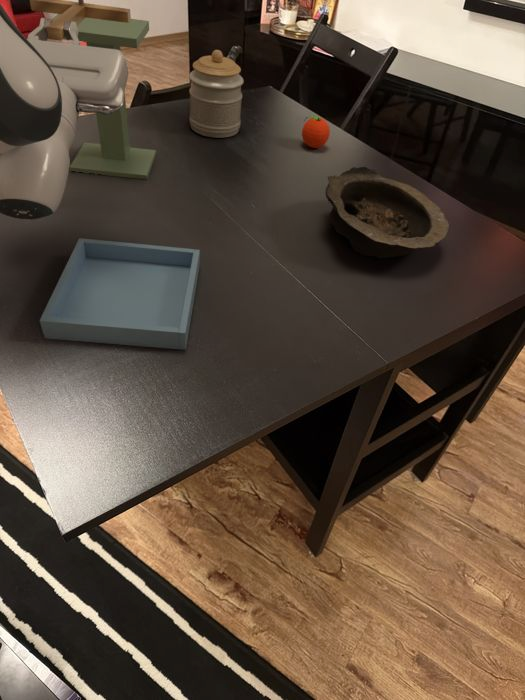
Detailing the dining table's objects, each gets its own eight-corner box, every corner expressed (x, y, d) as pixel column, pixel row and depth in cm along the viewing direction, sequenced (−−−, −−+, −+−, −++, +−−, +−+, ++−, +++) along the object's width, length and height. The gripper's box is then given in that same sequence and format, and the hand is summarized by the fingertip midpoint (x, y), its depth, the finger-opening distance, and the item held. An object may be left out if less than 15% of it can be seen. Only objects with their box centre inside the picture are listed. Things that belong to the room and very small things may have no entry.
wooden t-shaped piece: (-1, 33, 66) (-10, -2, 63) (35, 7, 76) (29, -23, 73) (109, 46, 67) (106, 13, 64) (131, 19, 77) (128, -10, 75)
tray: (44, 338, 68) (39, 320, 66) (82, 255, 82) (79, 238, 79) (185, 350, 70) (185, 333, 67) (199, 266, 83) (199, 249, 81)
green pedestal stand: (70, 171, 100) (41, 26, 81) (85, 146, 109) (62, 9, 90) (147, 179, 101) (136, 38, 83) (156, 154, 110) (148, 20, 91)
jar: (187, 116, 126) (186, 39, 113) (236, 118, 128) (241, 43, 116) (191, 138, 117) (191, 57, 104) (243, 139, 120) (249, 61, 107)
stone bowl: (294, 209, 99) (304, 166, 93) (392, 206, 108) (408, 166, 102) (350, 282, 84) (367, 236, 77) (459, 270, 93) (483, 229, 87)
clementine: (291, 142, 122) (295, 113, 117) (309, 136, 125) (314, 108, 120) (313, 155, 118) (319, 125, 113) (332, 149, 122) (338, 120, 117)
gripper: (116, 98, 62) (130, 13, 65) (-47, 79, 61) (-25, -7, 64) (126, 131, 68) (137, 51, 72) (-22, 114, 67) (-3, 34, 70)
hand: (60, 23), depth 68 cm, fingers closed on wooden t-shaped piece, 2 cm apart
